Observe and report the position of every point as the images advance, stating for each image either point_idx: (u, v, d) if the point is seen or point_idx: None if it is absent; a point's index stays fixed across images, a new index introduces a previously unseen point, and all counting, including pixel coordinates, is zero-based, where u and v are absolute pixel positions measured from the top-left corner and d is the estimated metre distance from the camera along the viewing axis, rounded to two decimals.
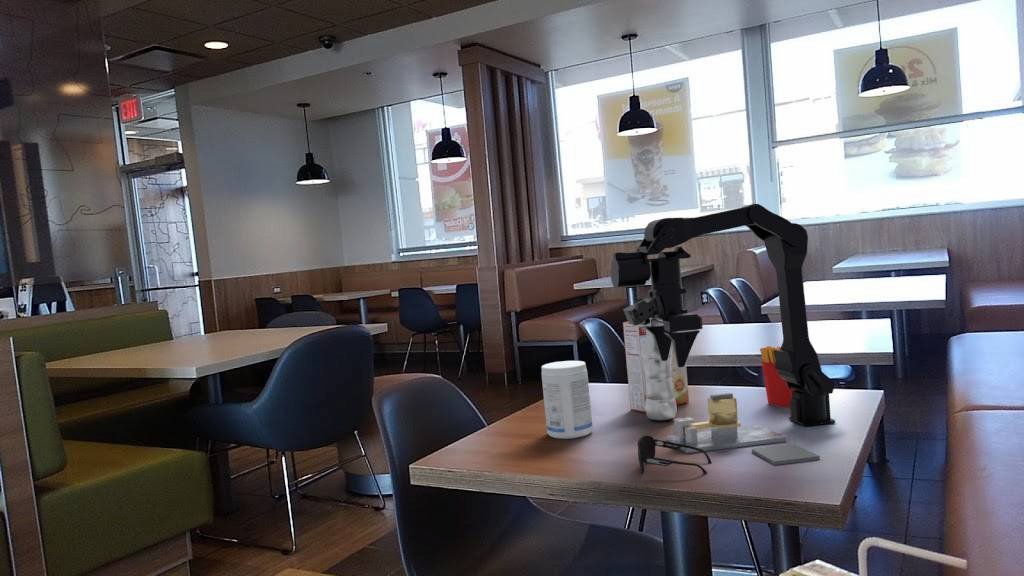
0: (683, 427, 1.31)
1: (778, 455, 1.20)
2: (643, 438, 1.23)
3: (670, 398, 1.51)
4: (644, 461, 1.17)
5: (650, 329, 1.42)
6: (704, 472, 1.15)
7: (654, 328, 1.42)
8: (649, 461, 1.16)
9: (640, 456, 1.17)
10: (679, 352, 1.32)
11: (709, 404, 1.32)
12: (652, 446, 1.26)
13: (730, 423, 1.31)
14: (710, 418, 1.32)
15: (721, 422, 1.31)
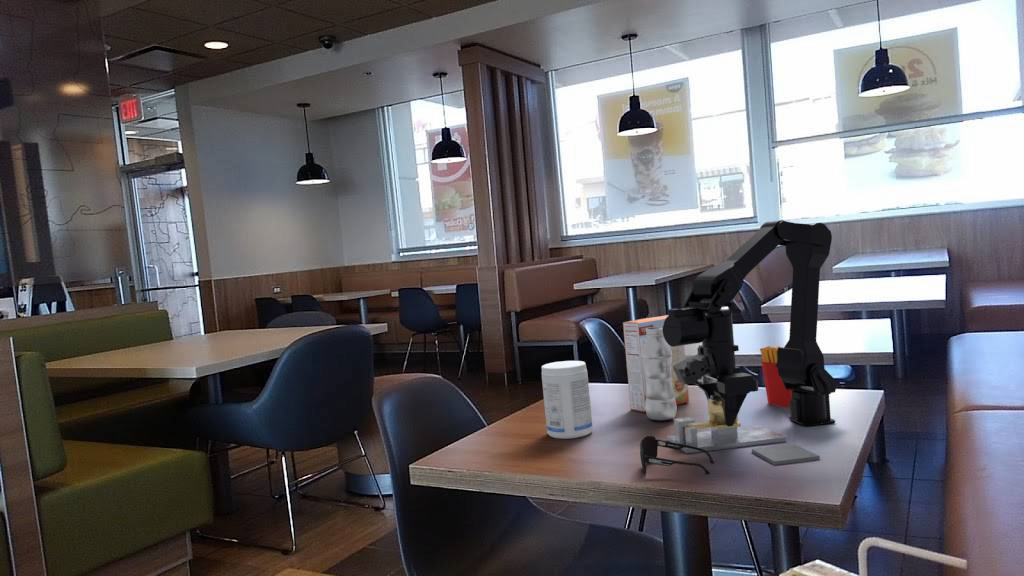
0: (683, 427, 1.31)
1: (778, 455, 1.20)
2: (645, 438, 1.23)
3: (670, 398, 1.51)
4: (646, 461, 1.16)
5: (702, 386, 1.36)
6: (706, 472, 1.15)
7: (707, 385, 1.36)
8: (651, 461, 1.16)
9: (642, 456, 1.17)
10: (728, 411, 1.29)
11: (709, 404, 1.32)
12: (654, 446, 1.26)
13: None
14: (710, 418, 1.32)
15: (721, 422, 1.31)
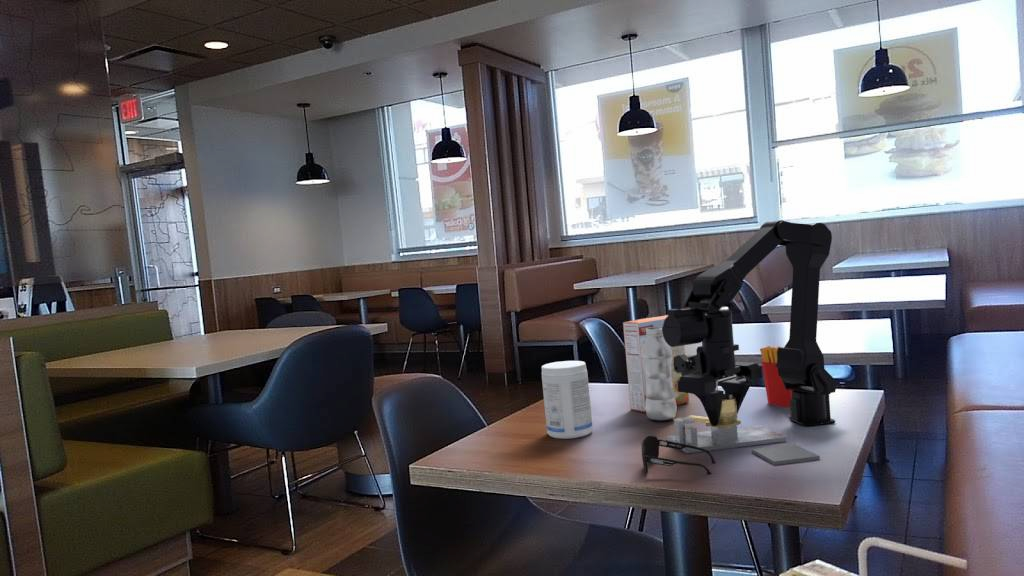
0: (683, 427, 1.31)
1: (778, 455, 1.20)
2: (647, 438, 1.23)
3: (670, 398, 1.51)
4: (648, 461, 1.16)
5: (721, 384, 1.37)
6: (708, 472, 1.15)
7: (725, 384, 1.36)
8: (653, 461, 1.16)
9: (644, 456, 1.17)
10: (707, 410, 1.31)
11: None
12: (656, 446, 1.25)
13: None
14: None
15: None
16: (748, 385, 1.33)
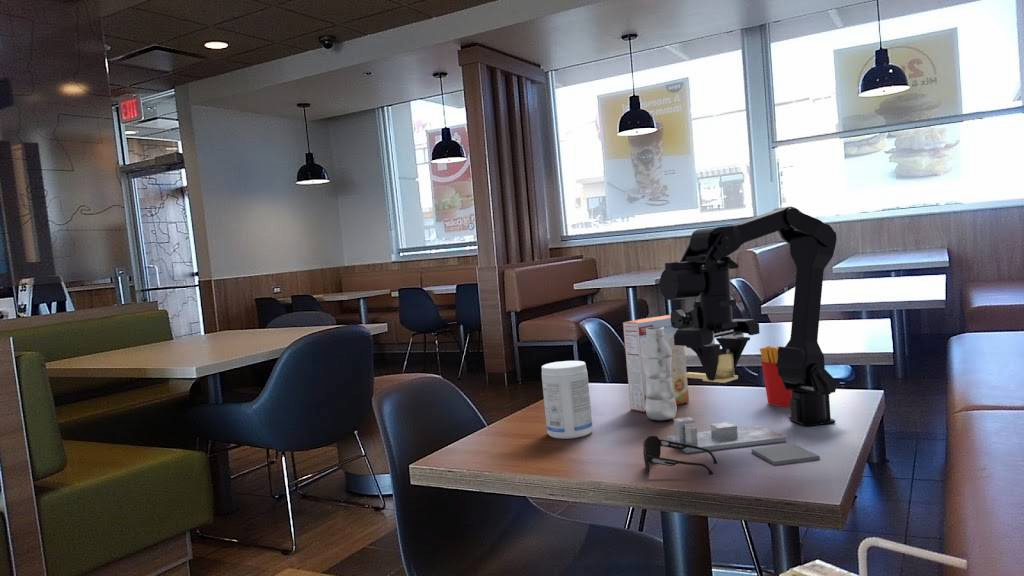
0: (683, 427, 1.31)
1: (778, 455, 1.20)
2: (648, 438, 1.23)
3: (670, 398, 1.51)
4: (650, 461, 1.16)
5: (718, 340, 1.36)
6: (710, 472, 1.15)
7: (722, 340, 1.36)
8: (655, 461, 1.16)
9: (646, 456, 1.17)
10: (704, 365, 1.31)
11: None
12: (657, 446, 1.25)
13: None
14: None
15: None
16: (745, 340, 1.33)
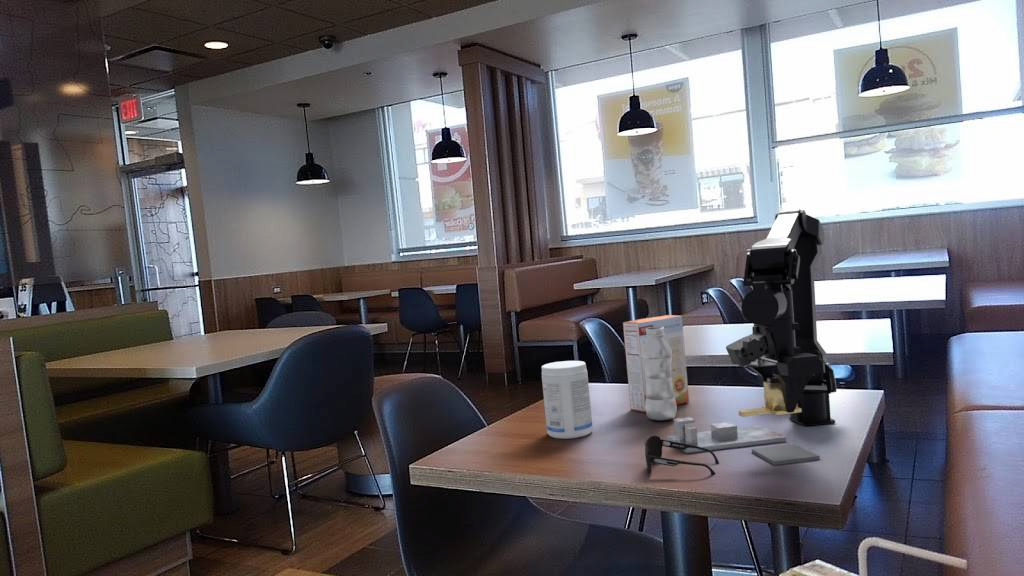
0: (683, 427, 1.31)
1: (778, 455, 1.20)
2: (650, 438, 1.23)
3: (670, 398, 1.51)
4: (652, 461, 1.16)
5: (757, 369, 1.23)
6: (712, 472, 1.14)
7: (762, 368, 1.24)
8: (657, 461, 1.16)
9: (647, 456, 1.17)
10: (789, 396, 1.17)
11: (766, 388, 1.20)
12: (659, 446, 1.25)
13: None
14: (768, 403, 1.20)
15: (781, 407, 1.18)
16: None
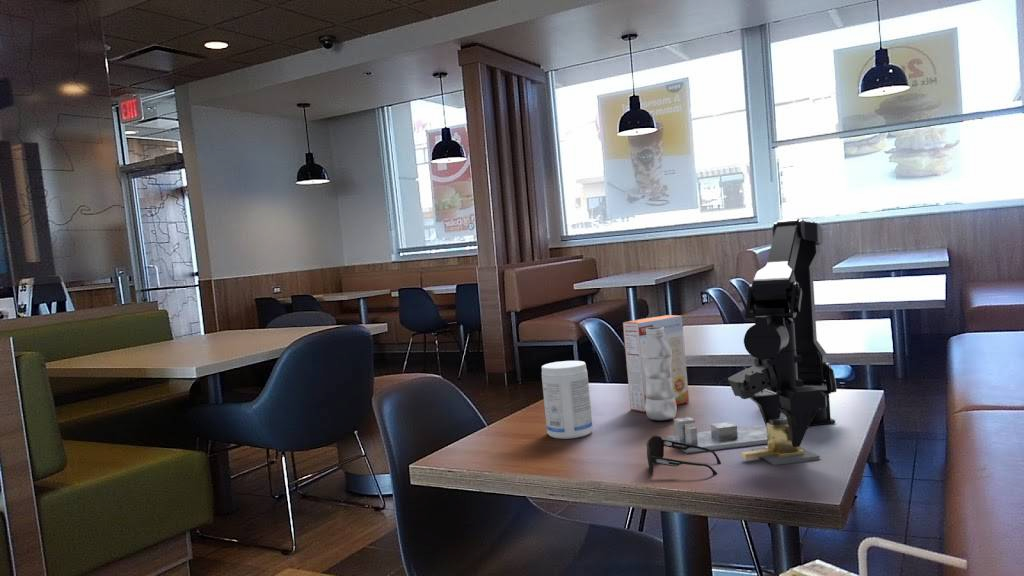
0: (683, 427, 1.31)
1: None
2: (652, 438, 1.23)
3: (670, 398, 1.51)
4: (653, 462, 1.16)
5: (756, 399, 1.25)
6: (714, 472, 1.14)
7: (761, 398, 1.25)
8: (658, 462, 1.16)
9: (649, 457, 1.17)
10: (795, 430, 1.16)
11: (769, 430, 1.20)
12: (661, 446, 1.25)
13: (793, 451, 1.18)
14: (770, 445, 1.20)
15: (784, 450, 1.19)
16: None
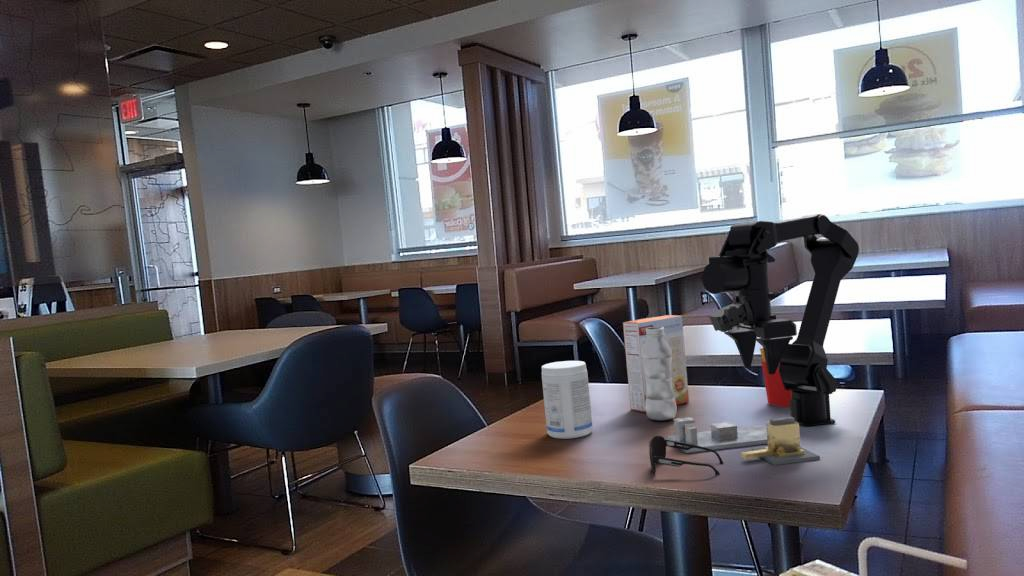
0: (683, 427, 1.31)
1: None
2: (654, 438, 1.22)
3: (670, 398, 1.51)
4: (656, 462, 1.16)
5: (733, 335, 1.39)
6: (716, 473, 1.14)
7: (737, 334, 1.39)
8: (661, 461, 1.15)
9: (652, 456, 1.17)
10: (770, 359, 1.29)
11: (769, 430, 1.20)
12: (663, 447, 1.25)
13: (793, 451, 1.18)
14: (770, 445, 1.20)
15: (784, 450, 1.19)
16: None
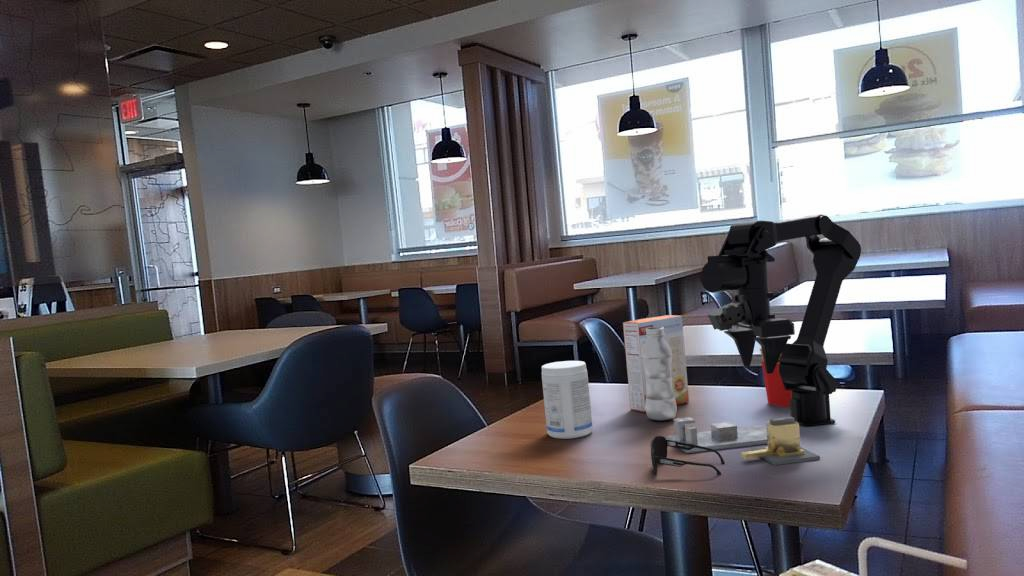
0: (683, 427, 1.31)
1: None
2: (655, 439, 1.22)
3: (670, 398, 1.51)
4: (657, 462, 1.16)
5: (732, 334, 1.39)
6: (718, 473, 1.14)
7: (736, 333, 1.39)
8: (663, 462, 1.15)
9: (653, 457, 1.16)
10: (768, 358, 1.29)
11: (769, 430, 1.20)
12: (664, 447, 1.25)
13: (793, 451, 1.18)
14: (770, 445, 1.20)
15: (784, 450, 1.19)
16: None
